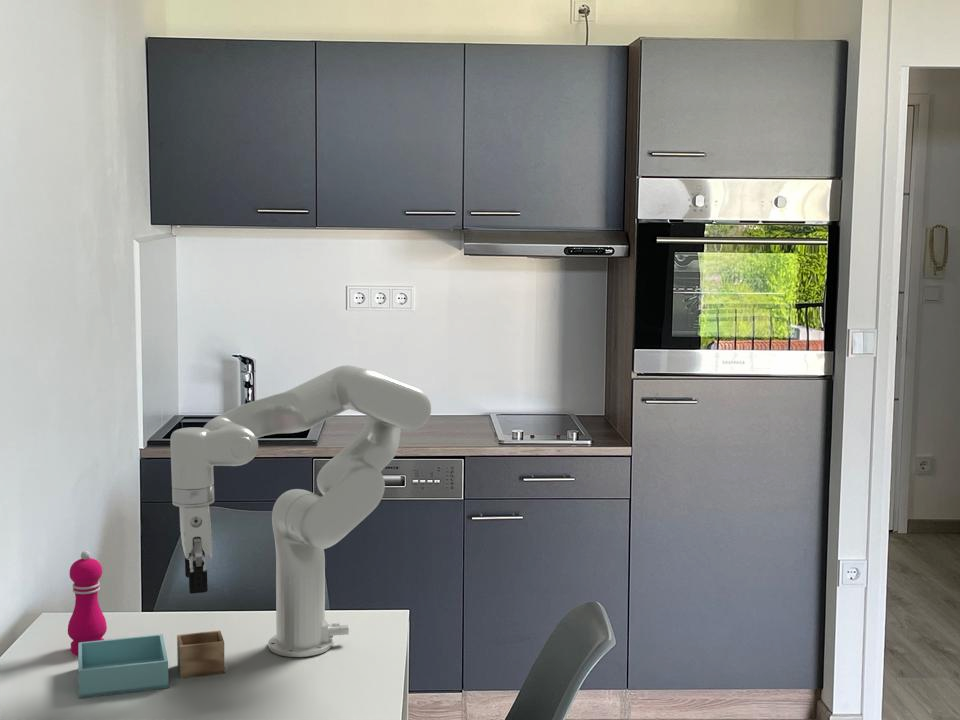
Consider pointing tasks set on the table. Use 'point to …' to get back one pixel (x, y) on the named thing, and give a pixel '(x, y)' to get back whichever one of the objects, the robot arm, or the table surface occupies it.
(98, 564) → the pepper mill
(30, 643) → the table surface
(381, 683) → the table surface
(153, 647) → the big crate
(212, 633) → the small crate
